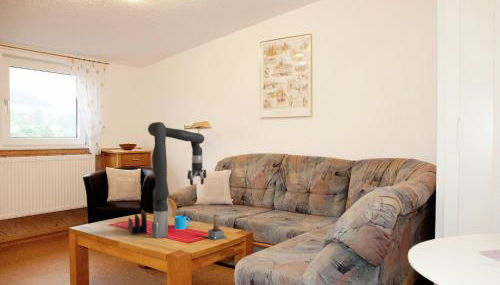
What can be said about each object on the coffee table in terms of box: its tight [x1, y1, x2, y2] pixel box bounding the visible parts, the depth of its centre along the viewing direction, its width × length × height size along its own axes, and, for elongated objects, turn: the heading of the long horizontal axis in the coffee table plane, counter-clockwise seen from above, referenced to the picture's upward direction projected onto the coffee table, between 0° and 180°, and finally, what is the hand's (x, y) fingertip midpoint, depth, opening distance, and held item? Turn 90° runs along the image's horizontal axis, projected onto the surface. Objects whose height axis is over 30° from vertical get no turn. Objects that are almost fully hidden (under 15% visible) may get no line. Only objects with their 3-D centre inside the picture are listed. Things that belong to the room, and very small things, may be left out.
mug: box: [174, 215, 191, 230], centre depth 273 cm, size 12×8×8 cm
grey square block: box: [205, 228, 228, 241], centre depth 247 cm, size 10×10×5 cm
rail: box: [212, 214, 220, 232], centre depth 247 cm, size 4×4×14 cm
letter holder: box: [127, 209, 148, 236], centre depth 261 cm, size 10×20×14 cm, turn 25°
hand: (196, 184), depth 266 cm, fingers open, 8 cm apart
